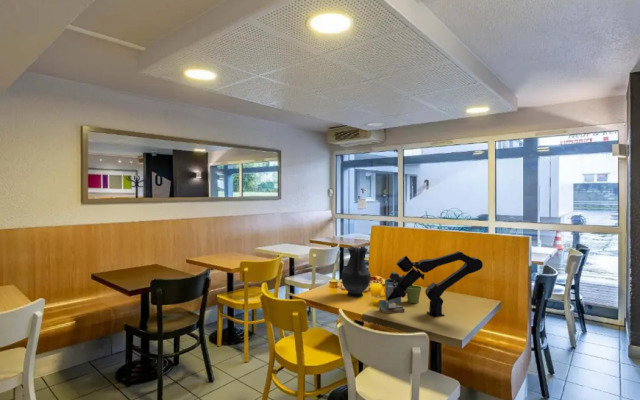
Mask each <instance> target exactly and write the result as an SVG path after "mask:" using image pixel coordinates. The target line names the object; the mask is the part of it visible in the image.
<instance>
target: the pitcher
mask: <svg viewBox="0 0 640 400" xmlns="http://www.w3.org/2000/svg"><path fill="white" fill-rule="evenodd" d="M347 250H348V253H349V259H348V261H347V264H346V266H345V268H344V269H343V270H342V271H341V282H342V286H343V287H344V289H345V290H346V291H347V294H346V295H347V296H348V297H351V298H361V297H364V294H363V292H364V291H366V290H367V289H368V288H369V285H370V283H371V272H370V271H369V270H368V267H367V266H366V260H365V258H366V254H367V252H368V248H366V247H360V246H358V247H357V246H350V247H348V248H347Z"/></svg>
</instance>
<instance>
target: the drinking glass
mask: <svg viewBox="0 0 640 400" xmlns="http://www.w3.org/2000/svg"><path fill="white" fill-rule="evenodd" d="M393 283H394V280H393V279H390V278H386V279H384V289H385V301H388V300H387V298H388V297H387V296H388V286H393ZM394 284H395V283H394ZM393 302H394V303H396V304H400V303H402V297H399V298H395V299H393Z"/></svg>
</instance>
